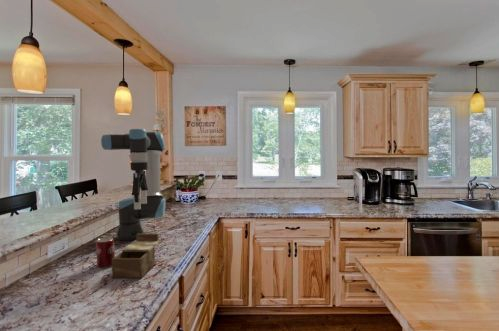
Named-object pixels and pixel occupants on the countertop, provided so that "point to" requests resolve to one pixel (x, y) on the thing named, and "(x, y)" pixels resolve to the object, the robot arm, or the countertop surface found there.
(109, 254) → the soda can
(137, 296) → the countertop surface
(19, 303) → the countertop surface
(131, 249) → the lid
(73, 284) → the countertop surface
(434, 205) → the countertop surface
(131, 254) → the box
